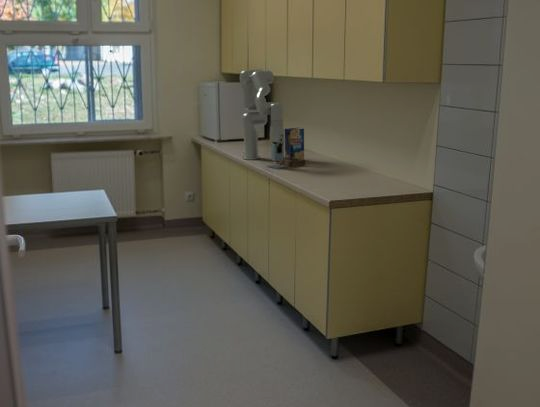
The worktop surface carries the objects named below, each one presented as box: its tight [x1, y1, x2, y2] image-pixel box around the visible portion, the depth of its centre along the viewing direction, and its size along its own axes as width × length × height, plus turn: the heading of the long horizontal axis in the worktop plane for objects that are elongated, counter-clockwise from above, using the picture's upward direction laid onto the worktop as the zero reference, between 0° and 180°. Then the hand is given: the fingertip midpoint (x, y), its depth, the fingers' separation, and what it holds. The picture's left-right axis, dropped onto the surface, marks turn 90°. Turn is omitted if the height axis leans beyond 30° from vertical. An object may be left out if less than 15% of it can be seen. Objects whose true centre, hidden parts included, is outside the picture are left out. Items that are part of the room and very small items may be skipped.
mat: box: [266, 164, 290, 170], centre depth 380 cm, size 12×8×1 cm
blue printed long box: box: [284, 127, 305, 160], centre depth 399 cm, size 7×11×22 cm, turn 123°
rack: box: [275, 157, 306, 168], centre depth 387 cm, size 16×11×4 cm
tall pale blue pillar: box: [270, 143, 285, 162], centre depth 377 cm, size 4×7×10 cm, turn 123°
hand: (277, 152), depth 377 cm, fingers closed on tall pale blue pillar, 3 cm apart
